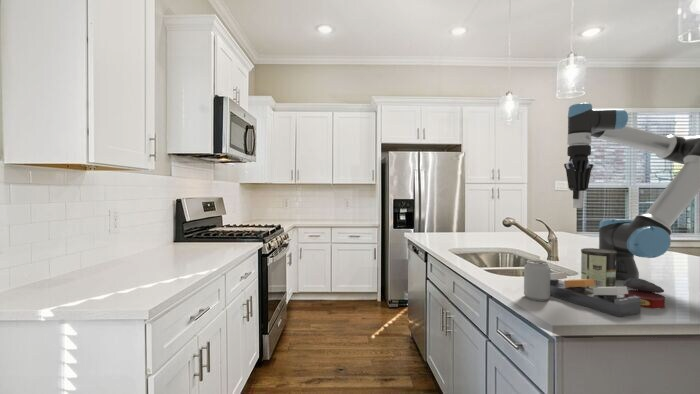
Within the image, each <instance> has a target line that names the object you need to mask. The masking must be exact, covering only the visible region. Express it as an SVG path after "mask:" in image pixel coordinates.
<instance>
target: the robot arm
mask: <svg viewBox="0 0 700 394" xmlns="http://www.w3.org/2000/svg"><path fill="white" fill-rule="evenodd" d="M628 120H629V114H628V111H626V110H625V109H622V108H621V109H619V108H603V109H602V108H600V109H598V108H597V109H594V108H593V104H592V103H590V102H579V103H575V104H572V105H570V106H569V107H568V114H567V157H569V159H568V162H567V163H564V164H563V167H564V168H565V173H566V180H567V185H568V189H569V190H570V191H572V201H573V203H572V206H573V207H572V208H574V209H583V208H584V192H585V191H586V192H587V189H589V183H590V179H591V172H592V170H593V167H594V164H593V163H591V164H590V163H589V158H588V157H589V156H591V155H592V146H591V144H592V138H596V139H600V140H603V141H607V142H612V143H615V144H619V145H622V146H626V147H629V148H633V149H636V150H640V151H644V152H648V153H651V154H655V155H656V157H657V158H659V159H663V160H667V161H671V162H673V163H677V164H681V165H683V166H682V167H681V169H680V170H679V171H678V172H677V173H676V175H675V176H674V177H673V178H672V180H671V181H670V182H669V183H668V185H667V186H666V187H665V188H664V189H663V190H662V192H661V193H660V194H659V196H658V197H657V198H656V199H655V201H654V202H653V203H652V205H650V206H649V208H648V209H647V210H646V212H645V213H644V214H637V215H636V216H635V218H634V219H628V218H625V219H622V218H621V219H617V218H616V219H603V220H601V221H599V225H598V249H607V250H612V251H616V252H617V254H616V279H617V280H627V279H629V278H639V279H640V272H639V268H638V266H637V263H636V261H635V257H639V258H645V259H646V258H647V259H654V258H658V257H661V256H663V255H664V254H665V253H667V251H669V249H670V248H671V243H672V242H670V241H671V240H672V239H671V235H672V234H673V230H672V228H671V227H672V225H674V223H675V222H676V221H677V220H678V218H679V217H680V216H681V214H682V213H683V212H684V211H685V210H686V208H688V206H689V205H690V204H691V202H693V200H694V199H695V197H696V196H697V195H698V194H699V192H700V134H699V135H691V136H679V135H678V136H677V135H672V134H668V135H662V134H659V133H655V132H652V131H647V130H644V129H640V128H636V127H633V126H629V125H628V122H629V121H628Z"/></svg>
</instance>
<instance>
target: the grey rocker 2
mask: <svg viewBox="0 0 700 394" xmlns="http://www.w3.org/2000/svg"><path fill="white" fill-rule="evenodd" d="M593 290H594V295H618V296H622V295H623V296H624V294H628V290H629V289H628V287H627V286H616V287H598V288H593Z"/></svg>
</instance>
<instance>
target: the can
mask: <svg viewBox="0 0 700 394" xmlns="http://www.w3.org/2000/svg"><path fill="white" fill-rule="evenodd" d="M523 267H524V270H523V273H524V275H523V276H524V277H523V295H524V296H525V297H526V298H527V299H528V300H533V301H536V300H537V301H538V302H539V301H540V302H541V301H542V302H544V301H547V300H548V299H550V297H551V296H550V273H551V267H550V265H549V263H548V262H547V261H544V260H537V259H536V260H535V259H529V260H526V264H524V266H523ZM537 301H536V302H537Z"/></svg>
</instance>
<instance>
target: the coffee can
mask: <svg viewBox="0 0 700 394" xmlns="http://www.w3.org/2000/svg"><path fill="white" fill-rule="evenodd" d="M580 252H581V253H580V254H581V256H580V257H581V258H580V259H581V261H580V262H581V263H580V268H581V269H580V279H594V281H595V285H594V286H587V287H588V288H592V289H593V288H598V287H617V286H616V254H617V252H616V251H612V250H607V249H599V248H593V247H586V248H584V247H583V248H581V249H580Z"/></svg>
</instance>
